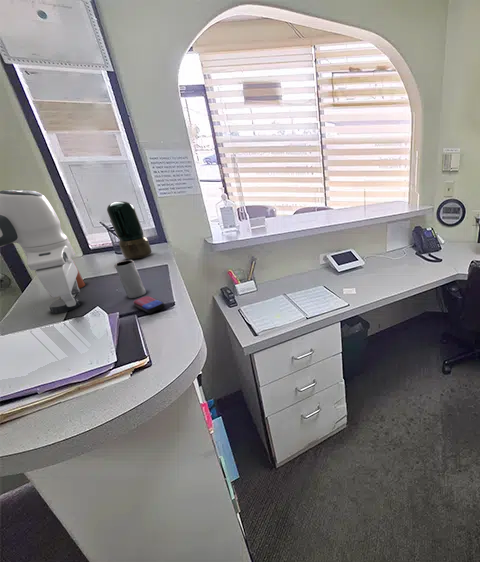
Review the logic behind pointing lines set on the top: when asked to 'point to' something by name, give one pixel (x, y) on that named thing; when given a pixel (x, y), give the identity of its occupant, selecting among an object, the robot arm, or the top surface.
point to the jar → (79, 279)
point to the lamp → (128, 230)
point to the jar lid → (62, 306)
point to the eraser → (148, 304)
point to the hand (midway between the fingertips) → (74, 299)
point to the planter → (130, 278)
